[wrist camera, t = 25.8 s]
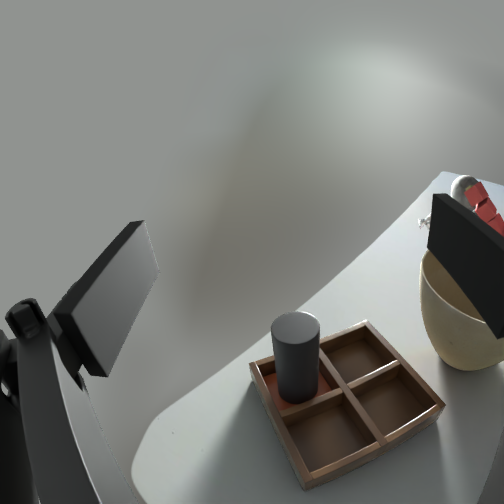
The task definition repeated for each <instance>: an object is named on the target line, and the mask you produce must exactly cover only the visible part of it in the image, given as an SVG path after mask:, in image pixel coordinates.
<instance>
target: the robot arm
mask: <svg viewBox="0 0 504 504" xmlns="http://www.w3.org/2000/svg"><path fill="white" fill-rule="evenodd" d="M427 248H428V249H429V250H430V252H431V253H432V254H433V255H434V256H435V257H436V259H437V260H438V261H439V262H440V263H441V265H442V266H443V267H444V268H445V269H446V271H447V272H448V273H449V274H450V276H451V277H452V278H453V279H454V281H455V282H456V283H457V284H458V286H459V287H460V288H461V290H462V291H463V292H464V294H465V295H466V296H467V297H468V299H469V300H470V302H471V303H472V304H473V306H474V307H475V308H476V310H477V311H478V312H479V314H480V315H481V317H482V318H483V319H484V321H485V322H486V324H487V325H488V327H489V328H490V330H491V331H492V333H493V334H494V336H495V337H496V339H497V340H498V339H501V338H504V237H503V236H502V235H501V234H500V233H498V232H497V231H496V230H495V229H493V228H492V227H491V226H490V225H488V224H487V223H486V222H485V221H483V220H482V219H481V218H479V217H478V216H477V215H475V214H474V213H473V212H471V211H470V210H469V209H467V208H466V207H465V206H463V205H462V204H460V203H459V202H458V201H456V200H455V199H453V198H452V197H451V196H449V195H448V194H446V193H444V194H433V200H432V211H431V220H430V229H429V237H428V244H427ZM159 273H160V272H159V269H158V265H157V262H156V258H155V255H154V252H153V248H152V245H151V241H150V238H149V234H148V231H147V227H146V224H145V221H144V220H142V221H135V222H130V223H129V224H128V225H127V226H126V227H125V228H124V229H123V230H122V231H121V233H120V234H119V235H118V236H117V237H116V238H115V239H114V240H113V241H112V242H111V243H110V245H109V246H108V247H107V248H106V249H105V250H104V251H103V253H102V254H101V255H100V256H99V257H98V258H97V259H96V261H95V262H94V263H93V264H92V265H91V266H90V268H89V269H88V270H87V271H86V272H85V273H84V275H83V276H82V277H81V278H80V279H79V280H78V281H77V282H75V283H74V284H73V285H72V286H71V288H70V289H69V290H68V291H67V294H65V295H64V296H63V297H62V300H61V301H59V303H58V304H57V305H56V306H55V308H54V309H53V311H52V312H51V313H50V314H49V315H48V317H47V318H45V316H44V314H43V312H42V311H41V309H40V307H39V305H38V303H37V301H36V299H33V298H29V299H25V300H22V301H20V302H19V303H17V304H15V305H14V306H13V307H12V308H11V309H10V310H9V311H8V312H7V314H6V316H5V320H6V321H7V323H8V325H9V326H10V328H11V330H12V331H13V333H14V334H15V336H16V338H15V339H11V340H8V338H7V337H6V335H5V334H4V332H3V331H2V330H0V504H39V500H40V503H41V504H139V502H138V500H137V499H136V497H135V496H134V494H133V492H132V490H131V488H130V486H129V484H128V483H127V481H126V479H125V477H124V475H123V473H122V471H121V469H120V467H119V465H118V463H117V461H116V459H115V457H114V455H113V453H112V451H111V448H110V446H109V444H108V442H107V440H106V437H105V435H104V433H103V430H102V428H101V426H100V423H99V421H98V418H97V416H96V413H95V411H94V408H93V405H92V403H91V400H90V397H89V394H88V391H87V389H86V386H85V383H84V380H83V378H82V376H81V375H80V373H79V372H78V371H79V369H80V367H81V365H82V364H83V365H84V367H85V368H86V370H87V371H88V373H89V374H90V375H91V376H100V377H108V376H109V374H110V372H111V369H112V367H113V365H114V363H115V360H116V358H117V356H118V354H119V352H120V350H121V348H122V345H123V344H124V342H125V339H126V337H127V335H128V333H129V331H130V329H131V326H132V325H133V323H134V321H135V319H136V317H137V315H138V313H139V311H140V309H141V307H142V305H143V303H144V301H145V299H146V297H147V295H148V293H149V291H150V289H151V288H152V286H153V284H154V282H155V280H156V278H157V276H158V274H159ZM1 382H2V383H3V384H4V386H5V387H6V388H7V389H8V395H7V396H6V395H5V394H4V393H3V391H2V389H1ZM38 496H39V499H38ZM477 504H504V428H503V432H502V436H501V439H500V443H499V446H498V449H497V453H496V456H495V459H494V462H493V465H492V468H491V470H490V473H489V476H488V479H487V481H486V484H485V486H484V489H483V491H482V494H481V496H480V498H479V501H478V503H477Z"/></svg>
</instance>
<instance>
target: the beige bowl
mask: <svg viewBox="0 0 504 504" xmlns="http://www.w3.org/2000/svg"><path fill="white" fill-rule="evenodd" d="M420 303H421V311H422V317H423V321H424V325H425V328H426V331H427V334H428V337H429V339H430V341H431V343H432V345H433V347H434V348H435V350H436V352H437V353H438V355H439V356H440V357H441V358H442V360H443V361H444V362H446V363H447V364H448V365H450V366H452V367H454V368H456V369H459V370H464V371H473V370H480V369H484V368H487V367H490V366H493V365H495V364H498V363H500V362H501V361H503V360H504V338H501V339H498V340H497V339H496V337H495V336H494V334H493V333H492V331H491V330H490V328H489V327H488V325H487V324H486V322H485V321H484V319H483V318H482V317H481V315H480V314H479V312H478V311H477V310H476V308H475V307H474V306H473V304H472V303H471V302H470V300H469V299H468V297H467V296H466V295H465V294H464V292H463V291H462V290H461V288H460V287H459V286H458V284H457V283H456V282H455V281H454V279H453V278H452V277H451V276H450V274H449V273H448V272H447V271H446V269H445V268H444V267H443V266H442V265H441V263H440V262H439V261H438V260H437V259H436V257H435V256H434V255H433V254H432V253H431V252H430V250H429V249H428V250H427V251H426V253H425V254H424V256H423V258H422V261H421V268H420Z"/></svg>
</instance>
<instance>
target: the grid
mask: <svg viewBox="0 0 504 504" xmlns="http://www.w3.org/2000/svg"><path fill="white" fill-rule="evenodd" d="M249 368H250V372H251V377H252V380H253V383H254V385H255V387H256V389H257V392H258V394H259V396H260V399H261V401H262V403H263V405H264V408H265V410H266V412H267V414H268V417H269V419H270V421H271V423H272V425H273V428H274V430H275V432H276V434H277V436H278V438H279V441H280V443H281V445H282V447H283V449H284V451H285V453H286V455H287V458H288V460H289V462H290V464H291V466H292V468H293V470H294V472H295V474H296V476H297V478H298V480H299V482H300V484H301V486H302V488H303V490H304V491H307V490H309V489H312V488H314V487H317V486H319V485H321V484H324V483H326V482H328V481H331V480H333V479H335V478H337V477H340V476H342V475H344V474H346V473H348V472H350V471H352V470H354V469H356V468H358V467H360V466H362V465H364V464H366V463H368V462H370V461H372V460H373V459H375V458H377V457H379V456H381V455H382V454H384V453H386V452H388V451H389V450H391V449H393V448H395V447H396V446H398V445H400V444H401V443H403V442H404V441H406V440H408V439H409V438H411V437H412V436H414V435H415V434H417V433H418V432H420V431H421V430H423V429H424V428H426V427H427V426H429V425H430V424H432V423H433V422H434V421H436V420H437V419H438V417H439V416H440V414H441V413H442V411H443V409H444V408H445V406H446V404H445V403H444V402H443V401H442V400H441V399H440V398H439V396H438V395H437V394H436V393H435V392H434V391H433V390H432V389H431V388H430V386H429V385H428V384H427V383H426V382H425V381H424V380H423V379H422V378H421V377H420V376H419V374H418V373H417V372H416V371H415V370H414V369H413V368H412V367H411V366H410V365H409V364H408V363H407V362H406V360H405V359H404V358H403V357H402V356H401V355H400V354H399V353H398V352H397V351H396V350H395V349H394V348H393V347H392V346H391V345H390V343H389V342H388V341H387V340H386V339H385V338H384V337H383V336H382V335H381V334H380V333H379V332H378V331H377V330H376V329H375V328H374V327H373V326H372V325H371V324H370V323H369V321H368V320H366V321H363V322H361V323H359V324H357V325H354V326H352V327H349V328H347V329H344V330H342V331H339V332H337V333H334V334H332V335H329V336H326V337H324V338H321V339H320V346H319V377H318V391H317V394H316V395H315V397H314V398H313V399H311V400H309V401H306V402H304V403H301V404H291V403H288V402H286V401H284V400H283V399H282V398H281V397H280V395H279V392H278V385H277V376H276V368H275V359H274V355H273V356H270V357H267V358H264V359H261V360H258V361H255V362H251V363H249Z"/></svg>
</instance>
